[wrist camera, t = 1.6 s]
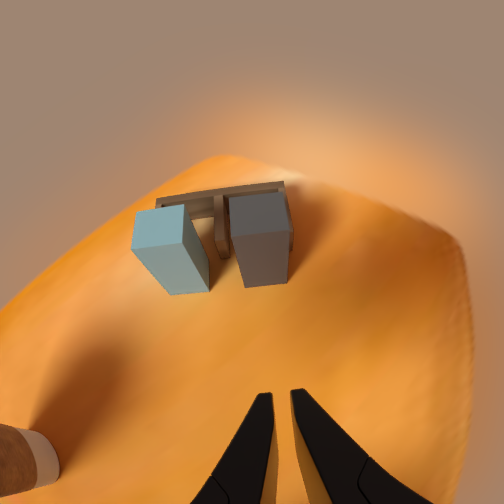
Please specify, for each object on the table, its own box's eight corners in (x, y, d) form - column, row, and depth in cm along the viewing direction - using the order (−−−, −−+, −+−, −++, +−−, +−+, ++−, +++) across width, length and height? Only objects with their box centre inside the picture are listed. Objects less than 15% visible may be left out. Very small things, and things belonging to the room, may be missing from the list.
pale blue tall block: (209, 291, 24) (181, 242, 17) (170, 295, 25) (130, 249, 18) (208, 260, 26) (184, 204, 19) (171, 264, 26) (136, 211, 19)
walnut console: (292, 250, 26) (293, 231, 23) (162, 265, 26) (150, 249, 23) (283, 201, 28) (283, 180, 26) (166, 216, 29) (156, 198, 26)
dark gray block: (287, 283, 24) (289, 229, 17) (245, 287, 24) (230, 236, 17) (282, 251, 26) (282, 191, 19) (242, 256, 26) (228, 197, 19)
